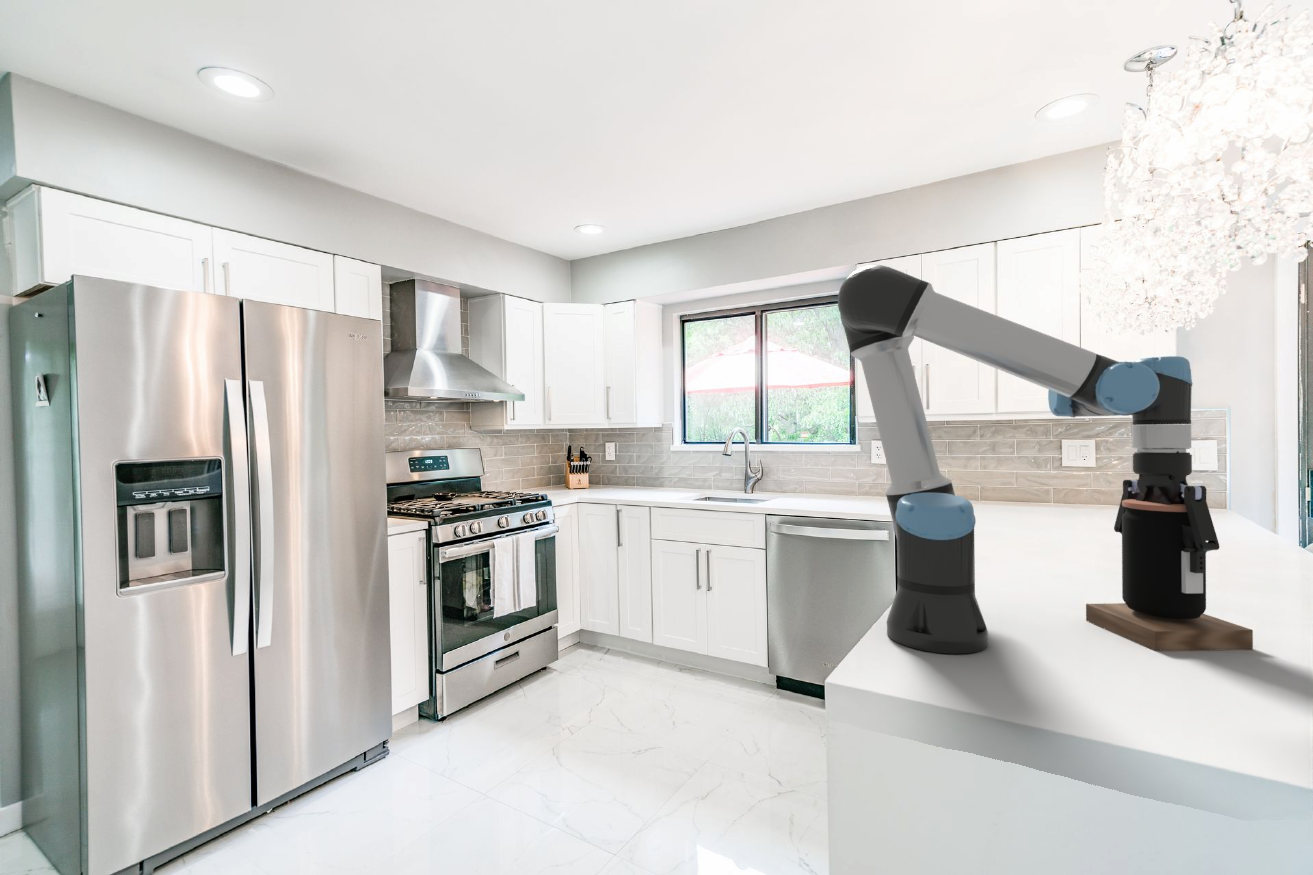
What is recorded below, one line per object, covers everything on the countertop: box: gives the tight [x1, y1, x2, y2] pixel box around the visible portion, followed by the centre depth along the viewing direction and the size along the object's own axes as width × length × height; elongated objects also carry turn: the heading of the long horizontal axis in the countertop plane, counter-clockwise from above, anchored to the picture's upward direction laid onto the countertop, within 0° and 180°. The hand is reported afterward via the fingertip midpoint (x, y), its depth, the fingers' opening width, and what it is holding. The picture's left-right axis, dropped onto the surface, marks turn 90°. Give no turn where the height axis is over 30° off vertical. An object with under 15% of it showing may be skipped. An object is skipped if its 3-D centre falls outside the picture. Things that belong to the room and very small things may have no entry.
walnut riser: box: [1085, 602, 1254, 652], centre depth 101 cm, size 15×15×3 cm
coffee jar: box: [1121, 499, 1207, 619], centre depth 101 cm, size 11×11×18 cm
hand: (1162, 583), depth 101 cm, fingers closed on coffee jar, 11 cm apart
